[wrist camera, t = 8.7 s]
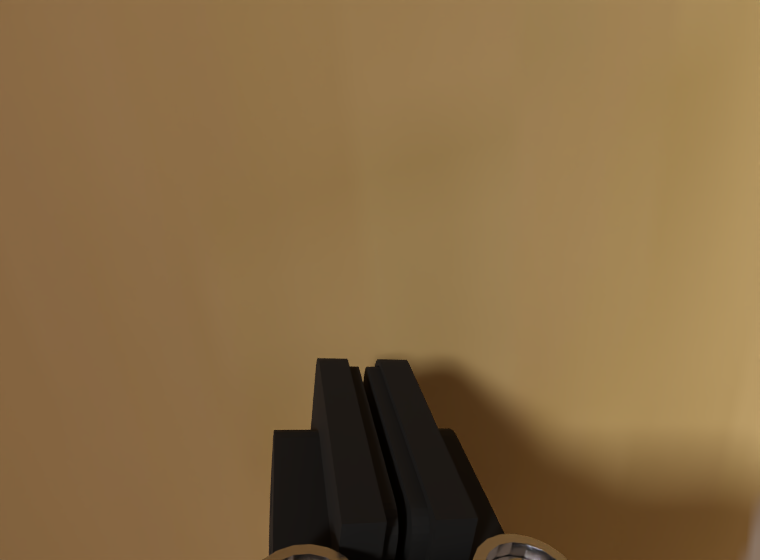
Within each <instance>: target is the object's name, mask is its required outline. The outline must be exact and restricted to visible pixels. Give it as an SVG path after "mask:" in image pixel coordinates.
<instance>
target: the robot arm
mask: <svg viewBox="0 0 760 560" xmlns="http://www.w3.org/2000/svg"><path fill="white" fill-rule="evenodd" d="M263 560H567V559H566V558H565V556H564V555H563V554H561V553H560V552H558V551H557V550H555V549H554V548H553V547H551V546H550V545H548V544H546V543H544V542H542V541H539V540H537V539H535V538H532V537H529V536H524V535H519V534H504V532H503V530H502V528H501V526H500V524H499V522H498V520H497V517H496V515H495V513H494V511H493V509H492V507H491V505H490V503H489V501H488V499H487V497H486V495H485V493H484V491H483V489H482V487H481V485H480V483H479V481H478V479H477V477H476V475H475V473H474V471H473V469H472V467H471V464H470V462H469V460H468V458H467V456H466V454H465V452H464V450H463V448H462V446H461V444H460V442H459V440H458V438H457V436H456V434H455V433H454V431H453V430H451V429H438V427H437V425H436V423H435V421H434V418H433V416H432V414H431V412H430V410H429V407H428V405H427V403H426V401H425V398H424V396H423V394H422V392H421V389H420V387H419V385H418V383H417V381H416V378H415V376H414V374H413V372H412V369H411V367H410V365H409V363H408V361H407V360H384V359H378V360H377V361H376V364H375V367H366V369H365V374H364V382H363V381H362V377H361V374H360V370H359V367H349V363H348V360H347V359H326V358H318V359H317V364H316V373H315V385H314V397H313V409H312V422H311V430H274V435H273V451H272V469H271V492H270V525H269V556H268V557H266V558H265V559H263Z"/></svg>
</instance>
